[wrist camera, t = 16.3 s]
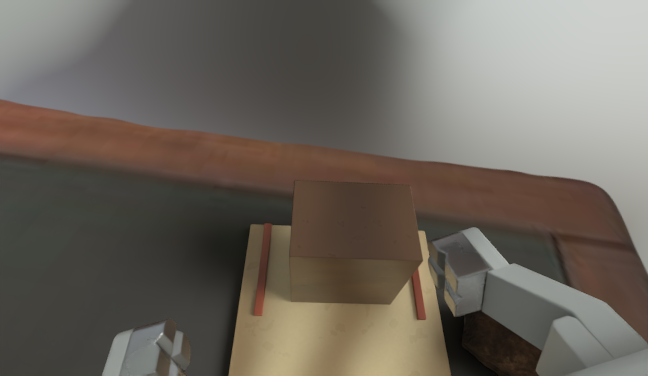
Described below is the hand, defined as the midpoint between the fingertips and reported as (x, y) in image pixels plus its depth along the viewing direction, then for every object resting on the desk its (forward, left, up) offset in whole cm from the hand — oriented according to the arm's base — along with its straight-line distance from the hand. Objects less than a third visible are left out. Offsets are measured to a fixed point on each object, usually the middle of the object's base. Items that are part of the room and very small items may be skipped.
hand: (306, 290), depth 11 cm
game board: (+2, +6, -25) cm, 25 cm away
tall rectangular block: (+1, +11, -24) cm, 26 cm away
